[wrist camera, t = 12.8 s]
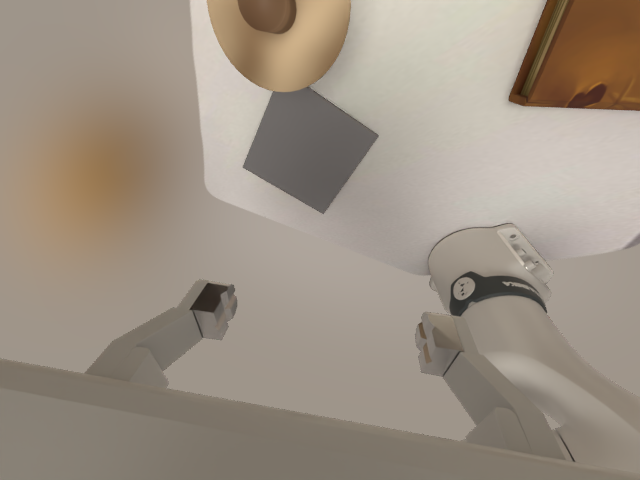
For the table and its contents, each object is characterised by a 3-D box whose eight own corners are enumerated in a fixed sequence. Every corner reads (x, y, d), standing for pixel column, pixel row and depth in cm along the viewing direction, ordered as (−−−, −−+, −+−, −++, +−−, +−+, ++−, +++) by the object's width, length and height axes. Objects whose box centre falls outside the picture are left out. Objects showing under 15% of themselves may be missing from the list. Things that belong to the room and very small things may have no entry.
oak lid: (380, -32, 18) (385, -55, 14) (308, 115, 24) (298, 127, 21) (235, -150, 16) (195, -214, 12) (197, 44, 22) (162, 43, 18)
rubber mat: (378, 135, 39) (378, 136, 38) (323, 212, 48) (323, 214, 47) (282, 69, 35) (281, 70, 35) (243, 166, 44) (242, 167, 44)
